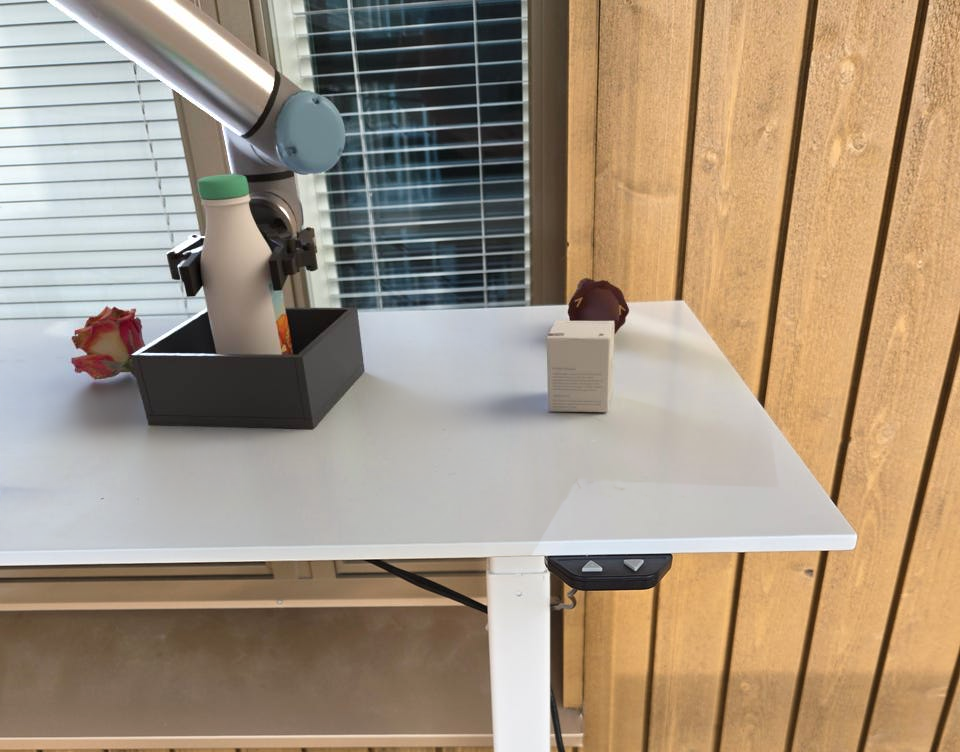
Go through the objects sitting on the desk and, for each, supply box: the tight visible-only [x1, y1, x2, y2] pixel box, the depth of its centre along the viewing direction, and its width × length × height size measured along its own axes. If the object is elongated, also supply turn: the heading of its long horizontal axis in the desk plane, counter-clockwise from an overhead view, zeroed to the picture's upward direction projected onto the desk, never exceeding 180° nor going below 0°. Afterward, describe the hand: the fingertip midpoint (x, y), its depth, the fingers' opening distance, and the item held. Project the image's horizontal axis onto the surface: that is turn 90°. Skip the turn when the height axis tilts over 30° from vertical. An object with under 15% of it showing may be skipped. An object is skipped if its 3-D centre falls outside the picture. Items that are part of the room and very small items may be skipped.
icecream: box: [567, 277, 630, 336], centre depth 105 cm, size 7×7×15 cm
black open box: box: [130, 307, 365, 430], centre depth 93 cm, size 18×18×7 cm
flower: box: [70, 306, 146, 381], centre depth 100 cm, size 10×9×8 cm
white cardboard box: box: [545, 320, 615, 413], centre depth 87 cm, size 6×6×7 cm
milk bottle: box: [197, 173, 293, 355], centre depth 89 cm, size 8×8×20 cm
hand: (231, 278), depth 83 cm, fingers closed on milk bottle, 7 cm apart
